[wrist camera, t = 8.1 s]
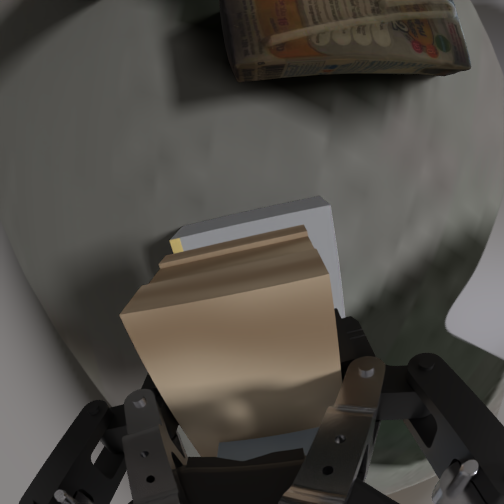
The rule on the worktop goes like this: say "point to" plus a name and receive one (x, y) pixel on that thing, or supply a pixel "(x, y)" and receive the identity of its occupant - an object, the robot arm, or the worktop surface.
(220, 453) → the pale blue cube
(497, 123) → the worktop surface
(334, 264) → the dock
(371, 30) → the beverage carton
